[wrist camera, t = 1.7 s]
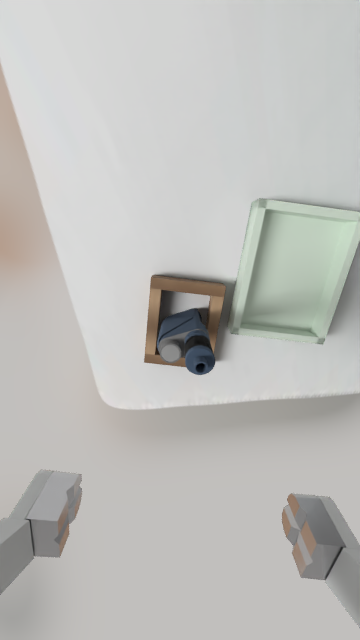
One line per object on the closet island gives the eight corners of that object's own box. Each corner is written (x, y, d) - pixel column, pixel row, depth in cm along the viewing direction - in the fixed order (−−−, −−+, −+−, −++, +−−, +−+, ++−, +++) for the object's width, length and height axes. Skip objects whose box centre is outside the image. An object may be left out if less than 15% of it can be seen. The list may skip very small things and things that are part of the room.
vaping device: (205, 324, 29) (221, 378, 17) (165, 336, 29) (156, 395, 18) (200, 305, 28) (213, 348, 17) (159, 317, 29) (144, 367, 17)
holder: (153, 274, 27) (151, 277, 25) (222, 283, 27) (226, 286, 25) (146, 354, 30) (144, 362, 28) (208, 361, 30) (210, 369, 29)
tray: (251, 202, 24) (259, 198, 22) (351, 216, 25) (369, 213, 22) (227, 326, 29) (231, 333, 26) (311, 336, 29) (323, 344, 27)
